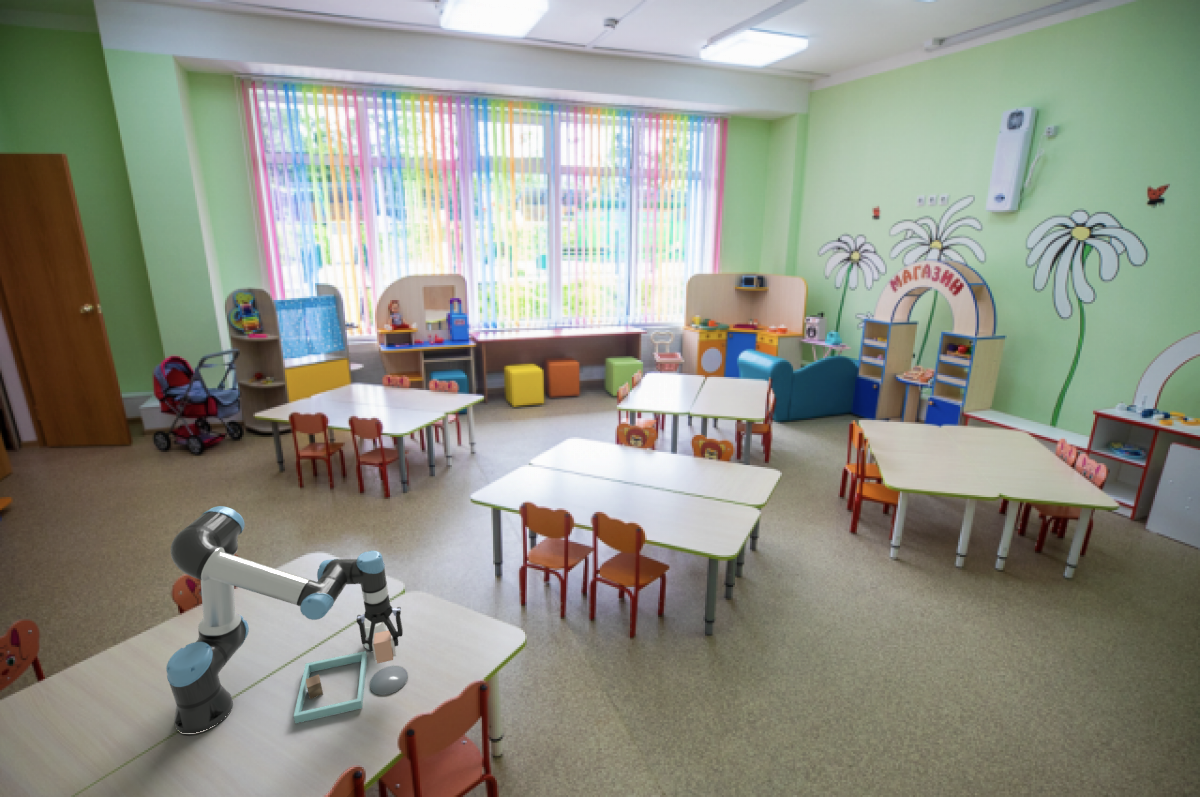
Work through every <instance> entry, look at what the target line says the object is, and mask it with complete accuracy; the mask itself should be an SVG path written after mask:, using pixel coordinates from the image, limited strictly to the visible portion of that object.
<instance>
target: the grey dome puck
mask: <svg viewBox="0 0 1200 797" xmlns="http://www.w3.org/2000/svg"><path fill="white" fill-rule="evenodd" d="M408 677H409V676H408V671H407V669H406V668H404V667H403V666H401V665H389V666H385V667H382V668H381V669H379V670H378V671H376V672H375V673H374V674H373V675H372V677H371V678H370V682H369V688H370V690H371V692H373V693H374V694H376V695H379V696H387V695H392V694H394V693H396V692H397V691H399V690H401V689H402V688H403V687H404V686H405V685H406V684H407V682H408Z"/></svg>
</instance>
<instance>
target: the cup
mask: <svg viewBox="0 0 1200 797" xmlns="http://www.w3.org/2000/svg"><path fill="white" fill-rule="evenodd" d="M364 625H365V632H366V637H369V632H370V626H371V622H370V621H369V620H368V619H366V618H365V621H364ZM387 629H388V628H387V626H386V625H385V624H384V622H383V623H377V624H375V628H374V634H373V639H374V635H375V633H379V632H383V631H388V630H387ZM363 646H364V648H365V649H366V650H369V645H368V644H367V643H365V644H363ZM369 651H370V650H369Z"/></svg>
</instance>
